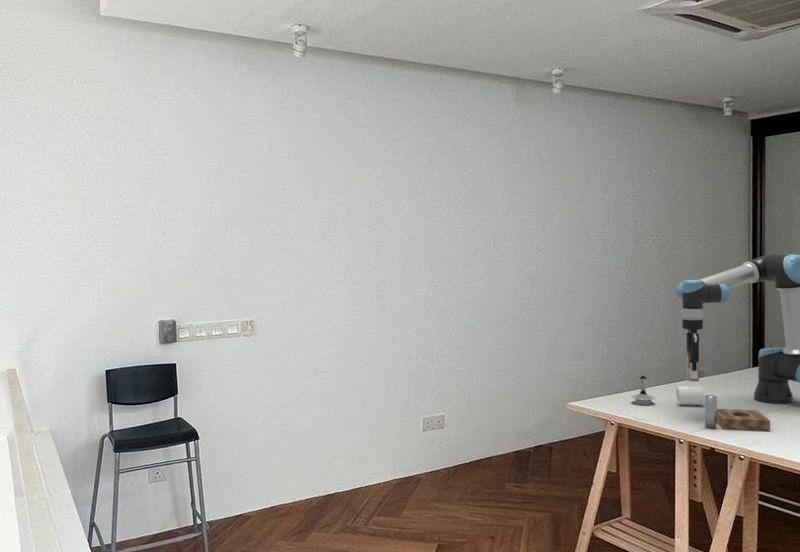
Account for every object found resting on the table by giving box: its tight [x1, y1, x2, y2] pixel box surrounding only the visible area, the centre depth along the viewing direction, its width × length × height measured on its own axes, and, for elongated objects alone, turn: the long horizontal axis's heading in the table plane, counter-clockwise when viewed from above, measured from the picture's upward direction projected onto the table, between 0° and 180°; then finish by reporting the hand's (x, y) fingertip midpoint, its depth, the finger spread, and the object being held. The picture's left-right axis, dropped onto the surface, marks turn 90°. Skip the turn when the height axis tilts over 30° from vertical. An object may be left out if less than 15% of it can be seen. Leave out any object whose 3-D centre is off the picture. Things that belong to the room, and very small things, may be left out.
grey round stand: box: [630, 375, 656, 406], centre depth 305 cm, size 12×10×10 cm
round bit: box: [704, 394, 718, 430], centre depth 263 cm, size 4×4×12 cm
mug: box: [675, 385, 705, 407], centre depth 302 cm, size 12×10×8 cm
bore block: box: [716, 408, 771, 432], centre depth 266 cm, size 16×16×4 cm
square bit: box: [685, 349, 700, 382], centre depth 277 cm, size 4×4×12 cm
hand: (692, 377), depth 277 cm, fingers closed on square bit, 4 cm apart
